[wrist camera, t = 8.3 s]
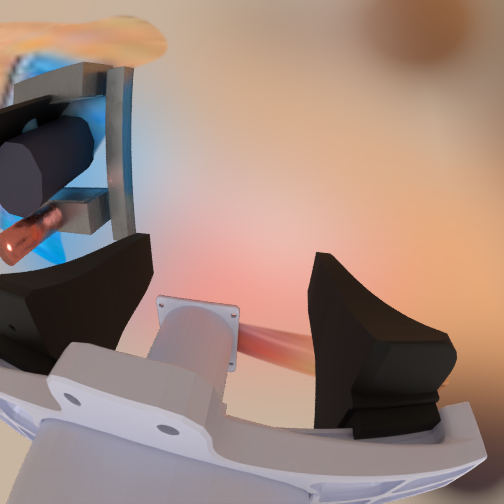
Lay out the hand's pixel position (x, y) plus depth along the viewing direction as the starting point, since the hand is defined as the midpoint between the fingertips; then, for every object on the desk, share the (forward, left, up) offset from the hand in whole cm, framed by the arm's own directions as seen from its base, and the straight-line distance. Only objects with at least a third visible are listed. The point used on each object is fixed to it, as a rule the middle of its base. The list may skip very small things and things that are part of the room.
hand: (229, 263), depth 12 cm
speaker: (+4, +16, -11) cm, 20 cm away
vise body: (+3, +16, -10) cm, 19 cm away
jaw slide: (-2, +16, -10) cm, 19 cm away
